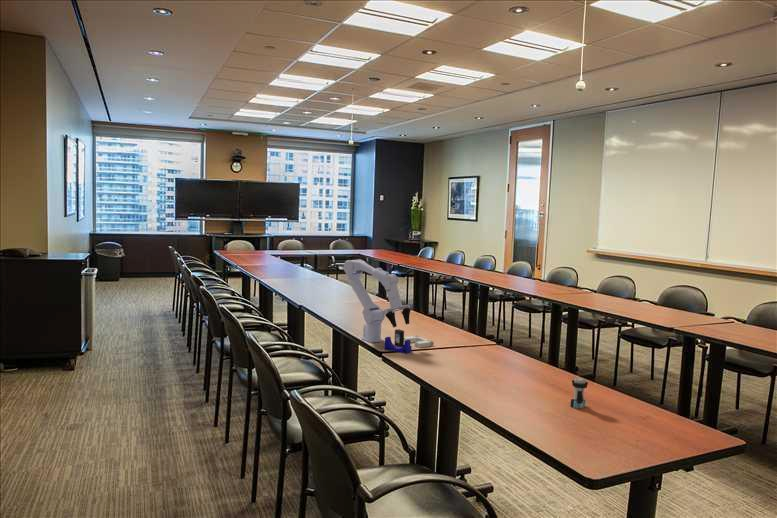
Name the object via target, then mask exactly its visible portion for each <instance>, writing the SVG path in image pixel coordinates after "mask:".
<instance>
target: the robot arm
mask: <svg viewBox="0 0 777 518" xmlns="http://www.w3.org/2000/svg"><path fill="white" fill-rule="evenodd" d="M343 271H344V273H345V275H346V279H347V281H348V284H350V287H351V288H352V291H353V293H355V296H356V298H358V300H359V302H360V304H361V305H362V307H363V310H362V312H361V314H362V315H363V319H364V321H365V323H364V324H363V330H362V337H361V340H364V341H366V342H368V343H370V344H371V343H372V344H373V343H377V342H379V343H380V342H385V339H382V323H383V321H384V320H385V318H387V319H388V321H389V322H390V324H391V325H392V328H397V321H396V314H395V312H398V311H401V315H402V316H403V319H404V323H405V325H409V324H410V315H411V305H410V304H405V305H403V303H402V298H401V295H400V291H399V288H398V283H399V278H398V276H397V275H396V274H395V273H391V274H390V272H389V271H386V270H383V268H381V267H376V268H375V267H373V266H371V265H370V264H369V263H367V262H366V261H365V260H363V259H360V258H359V259H352V260H351V259H347V260H345V261H344V263H343ZM363 272H366V273H368V274H370V275H371V276H372V278H373V279H374V280H376V281H378V282H380V284H381V285H382V286H383V287H384V290H385V291H386V295H387V299H388V302H389V306H390V307H389V308H386V309H381V307H380V306H379V305H378V304H376V303H374V302H373V300H372V298H371V297H370V294H369V293H368V291H367V289H366V288H365V286H364V284H363V283H362V281H361V280H360V278H361V276H362V274H363Z"/></svg>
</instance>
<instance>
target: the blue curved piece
mask: <svg viewBox="0 0 777 518" xmlns="http://www.w3.org/2000/svg"><path fill="white" fill-rule="evenodd" d="M391 338H392V337H391V336H385V337H384V351H390V352H396V353H401V354H406V355H407V354H409V353H412V349H413V348H412V345H411V342H410V341H411V340H406V341H405V342H404V345H403V347H397V346H395V344H394V342H392V339H391Z"/></svg>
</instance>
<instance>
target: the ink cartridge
mask: <svg viewBox="0 0 777 518" xmlns="http://www.w3.org/2000/svg"><path fill="white" fill-rule="evenodd" d="M404 337H405V330H403V329H400V328H399V329H394V346H396V347H398V348H399V347H403V345H404V343H405V342H404Z"/></svg>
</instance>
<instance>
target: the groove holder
mask: <svg viewBox="0 0 777 518" xmlns="http://www.w3.org/2000/svg"><path fill="white" fill-rule="evenodd" d="M406 340H411V341H410V343H414V347H416V348H419V349H420V348H425V347H426V346H427V347H433V346H434V341H433V340H431V339H427V338H424V337H421V336H418V335H411V336H404V343H405V341H406Z"/></svg>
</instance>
